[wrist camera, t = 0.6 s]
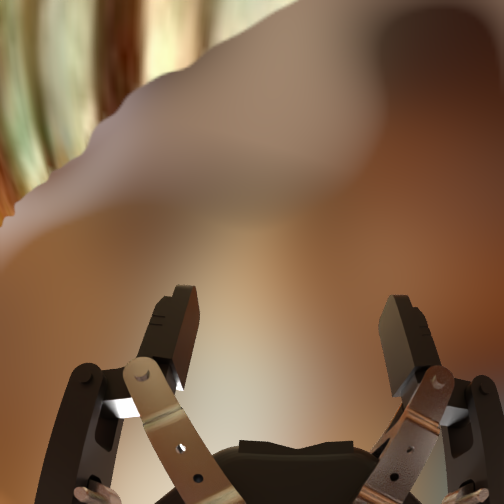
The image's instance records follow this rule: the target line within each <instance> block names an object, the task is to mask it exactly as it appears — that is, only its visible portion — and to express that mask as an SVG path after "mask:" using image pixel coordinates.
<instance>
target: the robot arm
mask: <svg viewBox="0 0 504 504" xmlns="http://www.w3.org/2000/svg"><path fill="white" fill-rule="evenodd" d="M199 320H200V311H199V305H198V298H197V292H196V287H195V286H190V285H177V286H176V287H175V290H174V293H173V296H172V297H167V296H164V297H163V298H162V299H161V300H160V301H159V302H158V303H157V304H156V306H155V309H154V311H153V314H152V317H151V319H150V322H149V325H148V327H147V330H146V333H145V336H144V338H143V341H142V344H141V346H140V349H139V352H138V355H137V357H136V358H135V359H133V360H131V361H130V362H129V363H127V365H126V366H125V367H122V368H118V369H110V370H101V369H100V368H99V367H98V366H97V365H95V364H93V363H84V364H81V365H79V366H78V367H76V368H75V369H74V370H73V372H72V374H71V376H70V379H69V382H68V385H67V387H66V390H65V393H64V396H63V399H62V402H61V405H60V408H59V411H58V414H57V417H56V421H55V424H54V427H53V431H52V434H51V437H50V441H49V444H48V448H47V451H46V455H45V459H44V463H43V467H42V471H41V475H40V480H39V484H38V488H37V493H36V498H35V503H34V504H121V500H120V497H119V496H118V494H117V493H116V492H115V491H114V490H112V489H110V485H111V480H112V474H113V469H114V464H115V458H116V454H117V449H118V444H119V439H120V435H121V430H122V426H123V421H124V418H126V417H136V416H140V417H141V419H142V422H143V427H144V429H145V431H146V434H147V436H148V438H149V440H150V442H151V444H152V446H153V448H154V450H155V451H156V453H157V455H158V457H159V459H160V461H161V463H162V465H163V466H164V468H165V470H166V472H167V473H168V475H169V477H170V479H171V480H172V482H173V484H174V486H175V487H174V488H173V489H172V490H171V491H170V492H168V493H167V494H166V495H165V496H163V497H162V498H161V499H160V500H159V501H157V502H156V503H155V504H422V503H421V502H420V501H418V499H416V498H415V496H414V495H413V494H411V492H410V490H411V488H412V486H413V485H414V483H415V481H416V479H417V478H418V476H419V474H420V472H421V470H422V469H423V466H424V465H425V463H426V461H427V459H428V457H429V455H430V453H431V451H432V449H433V447H434V444H435V443H436V440H437V438H438V436H439V433H440V428H439V427H438V426H439V425H441V428H442V436H443V444H444V452H445V461H446V471H447V482H448V495H447V496H445V498H444V499H443V501H442V504H504V415H503V411H502V407H501V403H500V399H499V395H498V392H497V388H496V386H495V383H494V382H493V381H492V380H491V379H490V378H489V377H487V376H484V375H479V376H477V377H475V378H474V379H473V381H472V382H470V381H465V380H461V379H456V378H454V377H453V375H452V373H451V372H450V371H449V370H448V369H447V368H445V367H443V366H442V365H441V362H440V359H439V356H438V353H437V350H436V347H435V344H434V341H433V338H432V336H431V332H430V330H429V328H428V324H427V321H426V319H425V316H424V315H423V314H422V312H421V311H420V310H419V309H418V308H417V307H412V304H411V302H410V299H409V297H408V296H407V295H390V296H389V298H388V300H387V302H386V305H385V308H384V310H383V313H382V315H381V317H380V320H379V335H380V339H381V344H382V348H383V353H384V357H385V362H386V367H387V372H388V377H389V382H390V387H391V392H392V397H398V396H401V398H402V403H401V404H400V406H399V407H398V409H397V411H396V413H395V415H394V416H393V418H392V420H391V421H390V423H389V425H388V426H387V428H386V430H385V431H384V433H383V434H382V436H381V437H380V439H379V440H378V442H377V443H376V444H375V445H374V447H373V448H372V449H371V451H370V452H367V451H365V450H362V449H359V448H356V447H353V441H342V442H341V441H340V442H325V443H321V444H318V445H313V446H309V447H305V448H301V449H294V448H290V447H286V446H282V445H278V444H274V443H271V442H262V441H261V442H260V441H245V440H239V446H234V447H230V448H227V449H224V450H221V451H219V452H217V453H215V454H213V455H211V453H210V452H209V450H208V449H207V447H206V446H205V444H204V443H203V441H202V439H201V438H200V436H199V435H198V433H197V431H196V430H195V428H194V426H193V425H192V423H191V421H190V420H189V418H188V416H187V415H186V413H185V411H184V410H183V408H182V407H181V406H180V404H179V403H178V401H177V399H176V398H175V396H174V395H175V391H176V390H181V391H183V390H184V386H185V382H186V378H187V373H188V369H189V365H190V360H191V356H192V352H193V348H194V343H195V339H196V335H197V331H198V326H199Z"/></svg>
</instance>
